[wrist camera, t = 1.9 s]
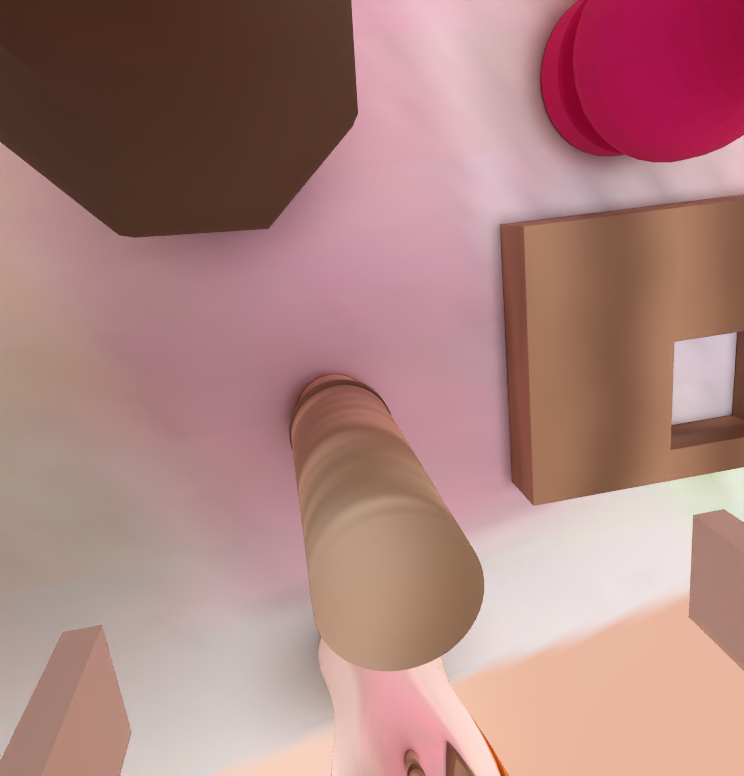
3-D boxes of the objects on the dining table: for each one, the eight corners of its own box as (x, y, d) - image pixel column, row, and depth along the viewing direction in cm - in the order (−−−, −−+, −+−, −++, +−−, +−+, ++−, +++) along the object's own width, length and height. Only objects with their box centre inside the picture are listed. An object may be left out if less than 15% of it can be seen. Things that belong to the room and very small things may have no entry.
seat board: (512, 481, 30) (533, 505, 28) (500, 224, 27) (523, 226, 24) (828, 425, 32) (872, 443, 30) (855, 181, 29) (909, 178, 26)
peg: (294, 460, 28) (323, 689, 15) (280, 371, 27) (298, 534, 14) (384, 445, 29) (490, 653, 15) (374, 357, 27) (481, 501, 14)
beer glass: (385, 724, 33) (479, 1119, 19) (279, 664, 31) (294, 1057, 17) (473, 628, 32) (640, 964, 18) (370, 560, 30) (467, 878, 16)
